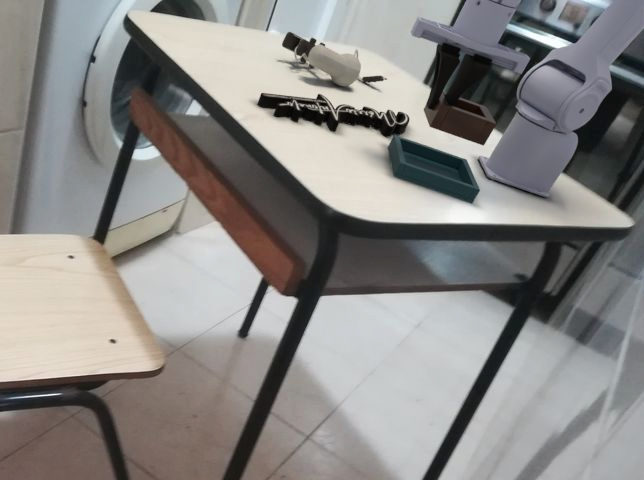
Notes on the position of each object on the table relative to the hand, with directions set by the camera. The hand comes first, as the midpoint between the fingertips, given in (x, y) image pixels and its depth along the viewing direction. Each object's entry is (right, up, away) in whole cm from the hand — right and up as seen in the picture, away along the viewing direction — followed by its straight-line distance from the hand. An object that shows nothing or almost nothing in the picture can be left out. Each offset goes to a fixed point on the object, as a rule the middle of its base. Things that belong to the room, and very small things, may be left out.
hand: (436, 109), depth 88 cm
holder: (+1, -7, +5) cm, 9 cm away
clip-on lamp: (-7, +16, +29) cm, 34 cm away
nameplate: (-10, +3, +12) cm, 16 cm away
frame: (+3, -2, +1) cm, 3 cm away
